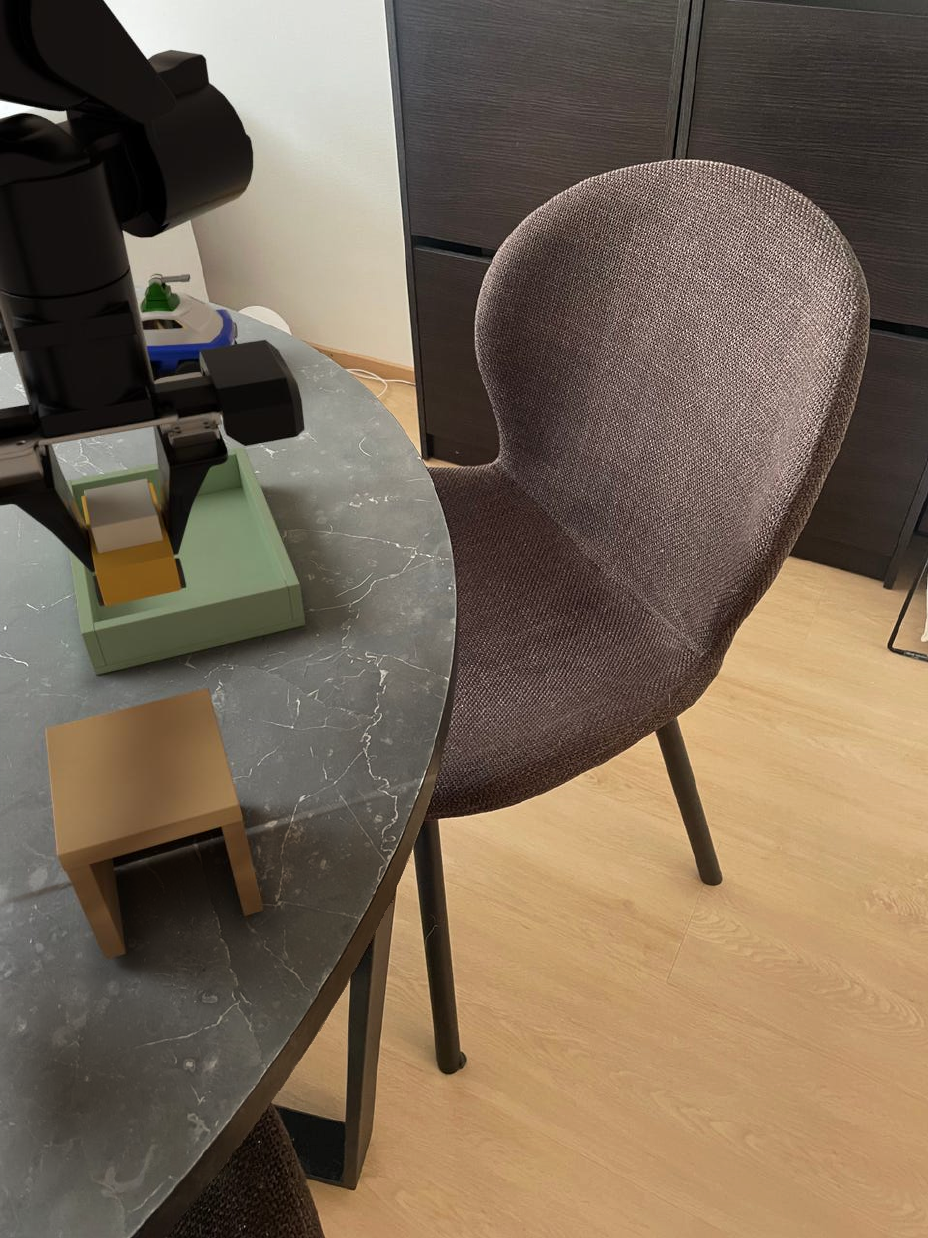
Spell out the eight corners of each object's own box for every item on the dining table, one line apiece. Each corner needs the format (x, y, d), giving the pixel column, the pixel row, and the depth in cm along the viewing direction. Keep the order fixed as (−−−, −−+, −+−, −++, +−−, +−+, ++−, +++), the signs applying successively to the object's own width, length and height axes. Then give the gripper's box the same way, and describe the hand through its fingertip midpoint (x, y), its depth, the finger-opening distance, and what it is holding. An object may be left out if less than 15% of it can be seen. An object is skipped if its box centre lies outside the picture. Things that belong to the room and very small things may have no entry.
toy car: (236, 398, 90) (220, 296, 83) (99, 403, 89) (72, 300, 83) (245, 350, 97) (230, 253, 90) (118, 354, 96) (94, 256, 90)
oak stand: (105, 966, 49) (56, 856, 43) (90, 841, 54) (44, 728, 48) (265, 915, 51) (239, 804, 45) (234, 800, 56) (208, 687, 50)
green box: (95, 675, 64) (81, 633, 61) (72, 521, 76) (59, 481, 73) (305, 625, 67) (299, 583, 65) (250, 485, 79) (244, 446, 77)
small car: (189, 598, 52) (174, 529, 49) (102, 617, 51) (81, 548, 48) (167, 522, 57) (152, 455, 54) (87, 538, 56) (67, 471, 53)
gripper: (237, 189, 52) (271, 451, 62) (-165, 234, 46) (-55, 513, 57) (290, 269, 44) (320, 554, 54) (-185, 333, 39) (-53, 636, 49)
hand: (134, 558), depth 54 cm, fingers closed on small car, 4 cm apart
